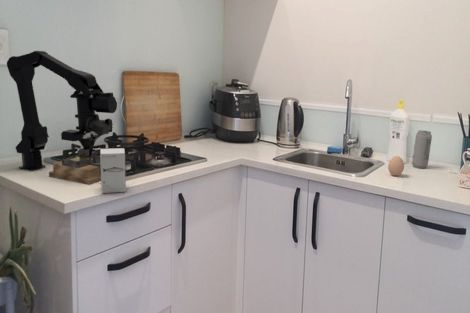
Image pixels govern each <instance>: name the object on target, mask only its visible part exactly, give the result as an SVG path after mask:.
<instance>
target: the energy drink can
mask: <svg viewBox="0 0 470 313" xmlns="http://www.w3.org/2000/svg"><path fill="white" fill-rule="evenodd" d="M432 138H433V135H432V133H431V131H430V130H422V129H420V130H417V132H416V134H415V138H414V139H415V140H414V144H413V154H412V161H411V165H412V167H413V168H415V169H416V168H417V169H427V167H428V166H429V161H430V153H431V152H430V151H431V146H432Z"/></svg>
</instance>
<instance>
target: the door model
mask: <svg viewBox="0 0 470 313" xmlns="http://www.w3.org/2000/svg"><path fill="white" fill-rule="evenodd" d="M77 157H78V156H77ZM77 157H76V156H71V157H66V158H63V159H61V161H57V162H55V163H54V162H53V163H52V171H49V172H48V178H49V177H50V178H54V179H55V178H56V179H60V180H65V181H70V182H74V183H79V184H85V185H93V184H95V183H98V182H101V165H100V155H98V152H97V151H93V150H92V154H91V156H89V157H90V158H91V163H89V159H84V160H80V161H73V160H69V159H73V158H77Z"/></svg>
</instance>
